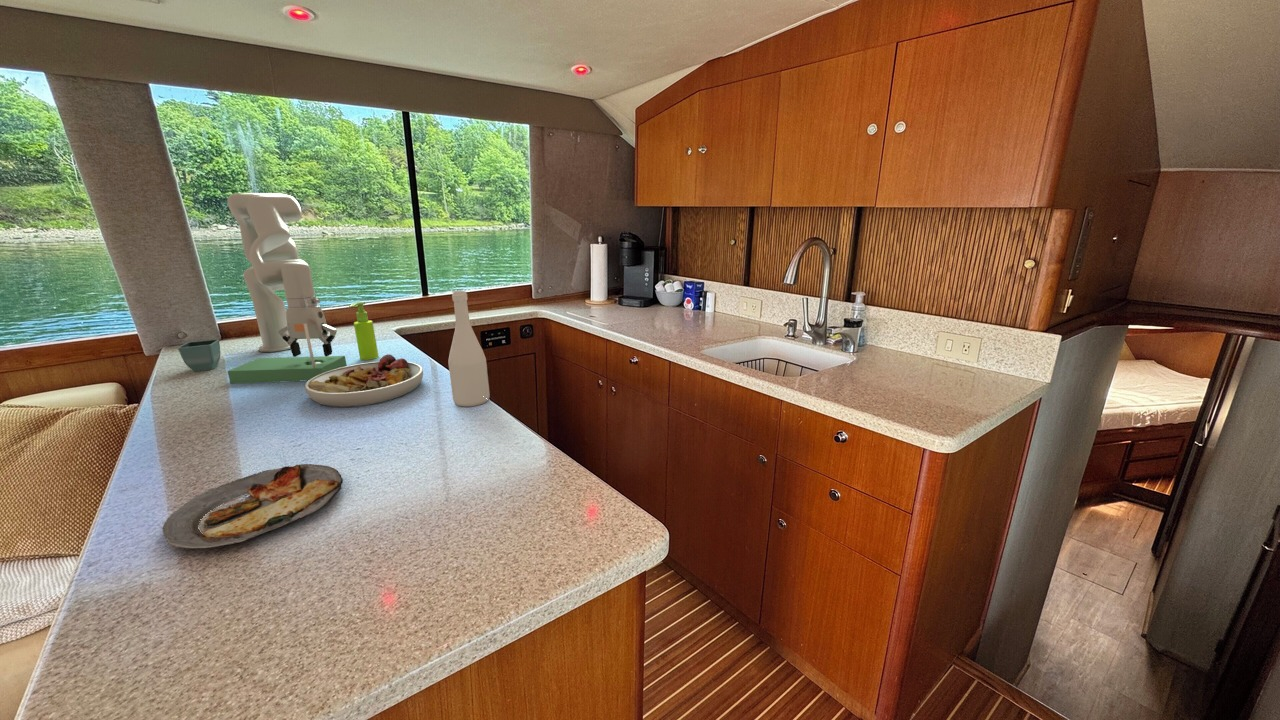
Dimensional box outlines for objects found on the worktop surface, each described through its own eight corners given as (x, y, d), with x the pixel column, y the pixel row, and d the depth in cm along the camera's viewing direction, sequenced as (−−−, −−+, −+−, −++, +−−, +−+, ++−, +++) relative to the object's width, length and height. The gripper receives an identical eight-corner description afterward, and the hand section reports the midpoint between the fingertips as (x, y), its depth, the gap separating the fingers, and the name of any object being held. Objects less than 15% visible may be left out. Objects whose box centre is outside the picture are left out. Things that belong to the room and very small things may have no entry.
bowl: (395, 411, 130) (390, 382, 128) (282, 411, 131) (275, 383, 128) (440, 375, 159) (437, 351, 157) (348, 375, 159) (343, 352, 157)
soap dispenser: (353, 360, 176) (343, 304, 170) (369, 354, 182) (359, 300, 177) (367, 361, 174) (357, 304, 169) (382, 355, 181) (373, 301, 175)
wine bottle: (467, 410, 129) (453, 295, 120) (446, 402, 135) (431, 292, 126) (497, 399, 136) (486, 290, 128) (476, 392, 142) (464, 288, 133)
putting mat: (261, 369, 166) (248, 316, 161) (347, 367, 168) (337, 314, 162) (230, 383, 153) (215, 326, 148) (324, 380, 154) (312, 323, 149)
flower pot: (194, 367, 170) (186, 341, 167) (225, 363, 174) (219, 338, 171) (184, 374, 162) (176, 347, 160) (217, 370, 166) (210, 344, 163)
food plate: (317, 461, 103) (313, 446, 102) (366, 500, 89) (362, 483, 88) (155, 520, 85) (148, 502, 84) (184, 581, 71) (177, 561, 70)
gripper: (337, 300, 158) (346, 351, 163) (280, 300, 157) (292, 352, 162) (324, 304, 151) (334, 358, 156) (265, 305, 150) (277, 359, 155)
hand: (312, 355), depth 159 cm, fingers open, 9 cm apart
